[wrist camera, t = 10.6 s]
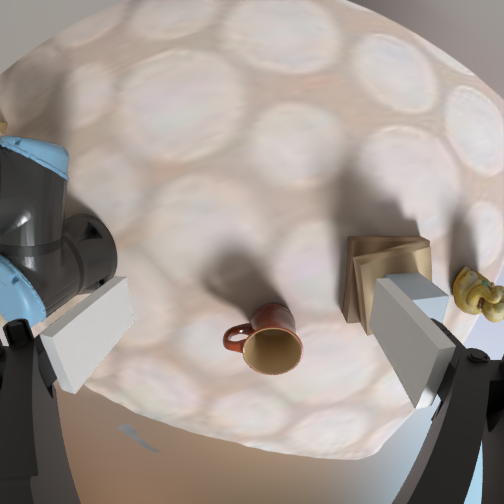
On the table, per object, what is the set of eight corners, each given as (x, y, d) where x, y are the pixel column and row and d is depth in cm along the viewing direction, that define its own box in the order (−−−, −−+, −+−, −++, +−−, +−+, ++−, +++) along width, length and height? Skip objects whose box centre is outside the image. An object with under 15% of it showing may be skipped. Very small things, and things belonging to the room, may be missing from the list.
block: (380, 311, 40) (402, 342, 31) (384, 274, 38) (411, 300, 29) (413, 307, 39) (439, 336, 30) (418, 272, 38) (448, 295, 29)
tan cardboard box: (342, 312, 49) (347, 323, 45) (347, 235, 45) (354, 241, 41) (409, 307, 48) (417, 316, 44) (419, 235, 44) (429, 240, 40)
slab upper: (360, 323, 45) (367, 335, 41) (352, 257, 42) (360, 265, 38) (421, 305, 43) (431, 315, 39) (418, 240, 40) (430, 246, 36)
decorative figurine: (483, 276, 44) (527, 304, 30) (465, 310, 47) (504, 344, 32) (459, 259, 44) (506, 286, 29) (439, 296, 46) (481, 332, 32)
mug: (300, 298, 48) (306, 328, 38) (294, 341, 50) (299, 376, 40) (229, 294, 48) (219, 323, 38) (229, 337, 51) (220, 371, 41)
